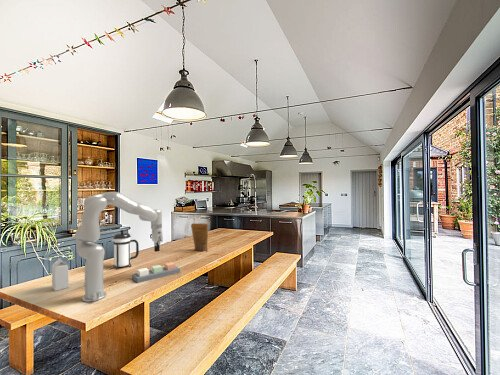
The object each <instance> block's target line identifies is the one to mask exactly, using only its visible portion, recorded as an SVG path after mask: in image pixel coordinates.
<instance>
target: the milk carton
mask: <svg viewBox="0 0 500 375" xmlns="http://www.w3.org/2000/svg"><path fill="white" fill-rule="evenodd" d="M51 288H52V289H53V290H54V291H55V292H56V291H61V290H65V289H69V264H67V263H66V262H64V261H63V260H62V259H61V258H59V257H58V258H57V260H56V261H55V262H53V264H51Z"/></svg>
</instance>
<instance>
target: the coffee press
mask: <svg viewBox="0 0 500 375" xmlns="http://www.w3.org/2000/svg"><path fill="white" fill-rule="evenodd" d="M131 237H132V236H131V234H130V233H129V232H124V230H123V229H122V230H120V231H119V232H118V233H115V234H114V236H112V239H111V242H113V267H115V269H116V270H119V269H120V267H126V266H127V267H129V268H131V267H132V264H131V260H134V259H136V258H138V256H139V254H140V253H139V252H140V249H139V242H138V240H136V239H131ZM131 243H135V251H136V252H135V255H134V256H131Z"/></svg>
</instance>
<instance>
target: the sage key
mask: <svg viewBox="0 0 500 375" xmlns="http://www.w3.org/2000/svg"><path fill="white" fill-rule="evenodd" d="M162 267H163V266H162V265H160V264H157V265H152V266H150V270H151V272H153V273H158V272H162Z"/></svg>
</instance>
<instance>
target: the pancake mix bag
mask: <svg viewBox="0 0 500 375" xmlns="http://www.w3.org/2000/svg"><path fill="white" fill-rule="evenodd" d="M190 227H191V234H192V240H193V245H194V251H195V250H196V252H203V251H206V252H208V251H209V250H208V239H209V237H208V235H209V232H208V230H209V224H208V223H193V222H192V223H191V224H190Z"/></svg>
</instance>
